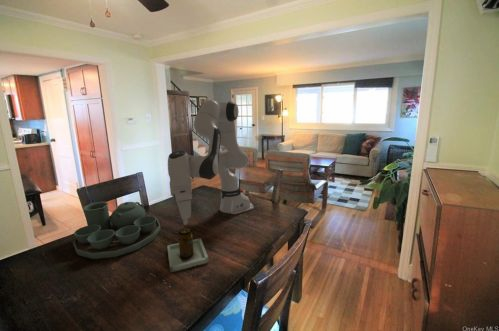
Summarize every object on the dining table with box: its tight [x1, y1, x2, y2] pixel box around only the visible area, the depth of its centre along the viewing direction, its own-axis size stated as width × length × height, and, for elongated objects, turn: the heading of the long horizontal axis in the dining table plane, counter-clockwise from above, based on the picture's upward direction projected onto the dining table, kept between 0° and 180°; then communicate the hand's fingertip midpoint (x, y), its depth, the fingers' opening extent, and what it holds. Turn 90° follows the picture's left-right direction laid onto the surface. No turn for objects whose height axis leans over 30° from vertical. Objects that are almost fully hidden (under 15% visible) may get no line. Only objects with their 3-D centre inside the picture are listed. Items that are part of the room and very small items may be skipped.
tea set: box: [72, 201, 161, 260], centre depth 123 cm, size 40×40×16 cm
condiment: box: [177, 227, 199, 262], centre depth 105 cm, size 7×8×12 cm
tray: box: [167, 237, 210, 273], centre depth 107 cm, size 16×18×2 cm
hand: (184, 219), depth 104 cm, fingers open, 8 cm apart
